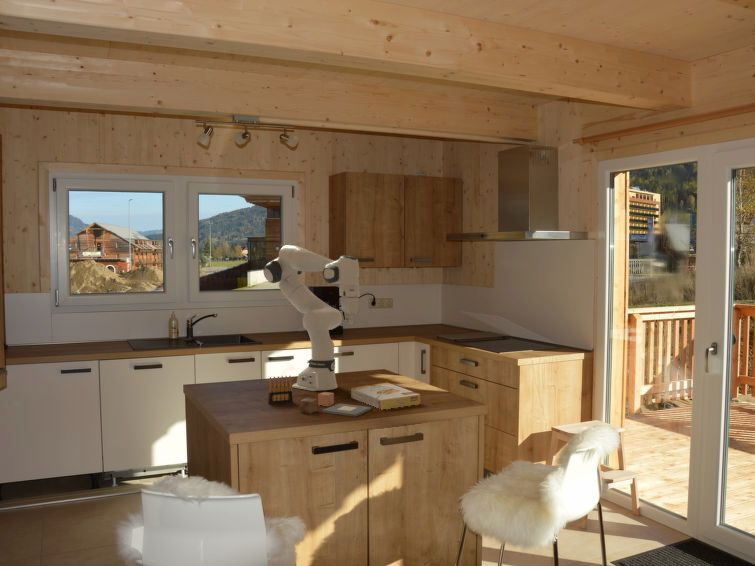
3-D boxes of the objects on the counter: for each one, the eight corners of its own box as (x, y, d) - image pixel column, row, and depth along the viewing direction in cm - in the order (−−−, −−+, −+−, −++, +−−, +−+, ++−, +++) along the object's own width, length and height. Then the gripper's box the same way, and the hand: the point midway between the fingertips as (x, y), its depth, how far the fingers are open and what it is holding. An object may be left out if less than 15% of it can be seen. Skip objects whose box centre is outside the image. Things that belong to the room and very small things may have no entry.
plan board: (322, 412, 284) (322, 409, 284) (338, 405, 297) (338, 403, 297) (355, 416, 277) (355, 414, 277) (371, 409, 289) (371, 407, 289)
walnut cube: (300, 412, 285) (300, 400, 285) (306, 409, 289) (306, 398, 289) (310, 413, 283) (310, 401, 282) (316, 411, 287) (316, 399, 287)
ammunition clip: (291, 401, 305) (291, 374, 304) (292, 402, 303) (292, 375, 303) (268, 403, 301) (267, 376, 300) (268, 404, 299) (268, 377, 299)
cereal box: (387, 381, 322) (421, 392, 298) (387, 393, 323) (421, 405, 299) (350, 387, 312) (381, 398, 288) (350, 399, 312) (382, 411, 288)
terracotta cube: (318, 405, 297) (318, 394, 297) (324, 403, 302) (324, 391, 302) (327, 406, 295) (327, 395, 295) (333, 404, 300) (333, 393, 299)
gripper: (338, 290, 312) (338, 320, 312) (346, 293, 292) (346, 325, 293) (351, 290, 313) (351, 320, 314) (360, 293, 293) (360, 325, 294)
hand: (349, 322), depth 303 cm, fingers open, 8 cm apart
